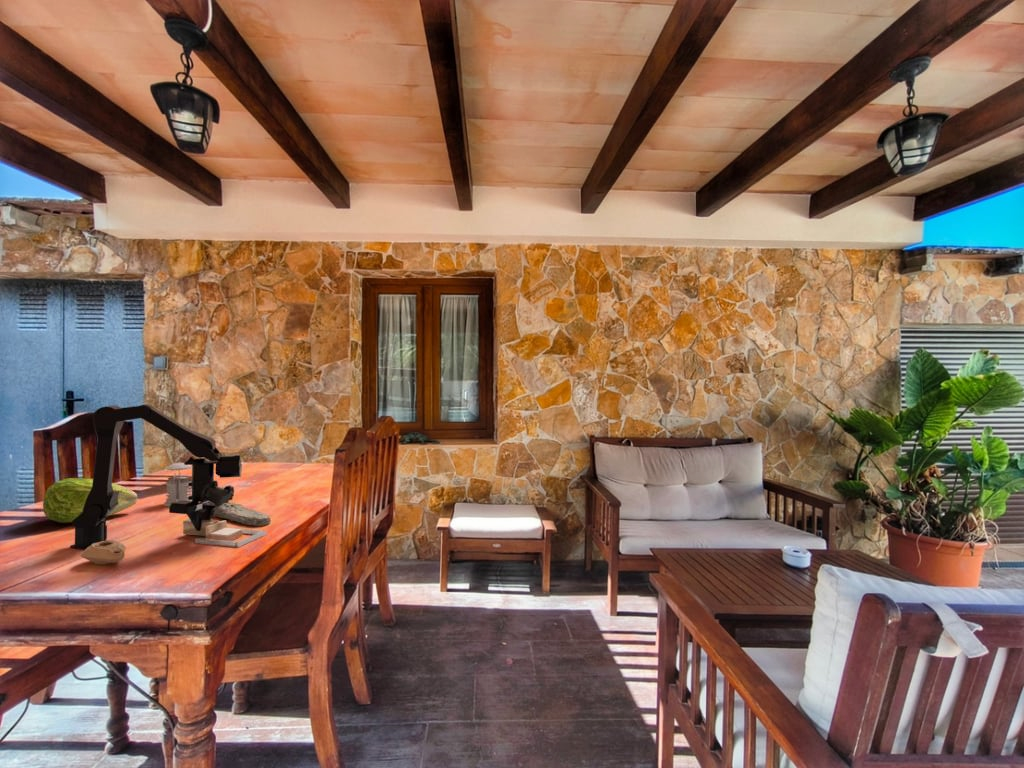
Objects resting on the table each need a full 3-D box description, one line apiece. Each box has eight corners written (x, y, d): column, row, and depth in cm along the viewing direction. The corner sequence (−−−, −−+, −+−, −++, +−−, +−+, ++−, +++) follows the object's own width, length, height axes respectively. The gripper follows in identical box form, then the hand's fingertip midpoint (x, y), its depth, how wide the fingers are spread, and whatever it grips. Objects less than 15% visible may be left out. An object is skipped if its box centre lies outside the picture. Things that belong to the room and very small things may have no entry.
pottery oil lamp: (100, 572, 123) (84, 547, 123) (89, 576, 131) (74, 553, 130) (139, 550, 130) (124, 527, 130) (126, 555, 137) (112, 533, 137)
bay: (238, 547, 144) (238, 543, 144) (194, 542, 147) (194, 538, 147) (266, 534, 156) (266, 530, 156) (225, 530, 159) (225, 527, 159)
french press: (195, 499, 197) (196, 435, 197) (191, 506, 187) (192, 439, 187) (165, 501, 193) (165, 436, 193) (160, 508, 183) (161, 440, 182)
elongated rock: (250, 534, 161) (278, 528, 169) (252, 517, 161) (279, 512, 169) (191, 511, 178) (219, 507, 187) (192, 496, 178) (220, 493, 187)
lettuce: (139, 521, 170) (144, 477, 172) (40, 525, 153) (48, 477, 155) (130, 518, 182) (136, 478, 184) (38, 522, 165) (46, 478, 167)
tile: (227, 543, 148) (227, 535, 148) (209, 541, 149) (210, 533, 149) (242, 537, 154) (242, 529, 154) (224, 535, 155) (225, 527, 155)
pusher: (208, 538, 149) (208, 525, 149) (176, 536, 151) (176, 523, 151) (226, 531, 156) (226, 518, 156) (195, 529, 158) (195, 516, 158)
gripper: (201, 486, 142) (200, 541, 143) (247, 474, 161) (246, 523, 161) (167, 484, 145) (167, 538, 145) (217, 472, 163) (216, 520, 163)
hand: (202, 529), depth 153 cm, fingers closed on pusher, 2 cm apart
